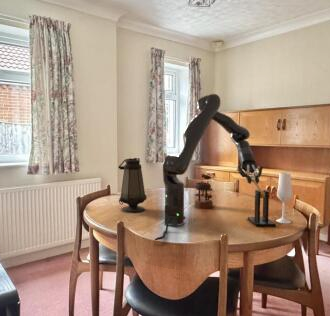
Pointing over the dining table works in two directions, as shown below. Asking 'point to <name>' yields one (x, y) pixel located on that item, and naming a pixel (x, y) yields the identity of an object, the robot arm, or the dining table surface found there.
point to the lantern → (132, 186)
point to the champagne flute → (284, 193)
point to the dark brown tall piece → (203, 187)
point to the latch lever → (262, 193)
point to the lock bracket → (263, 220)
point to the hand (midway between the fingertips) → (253, 182)
